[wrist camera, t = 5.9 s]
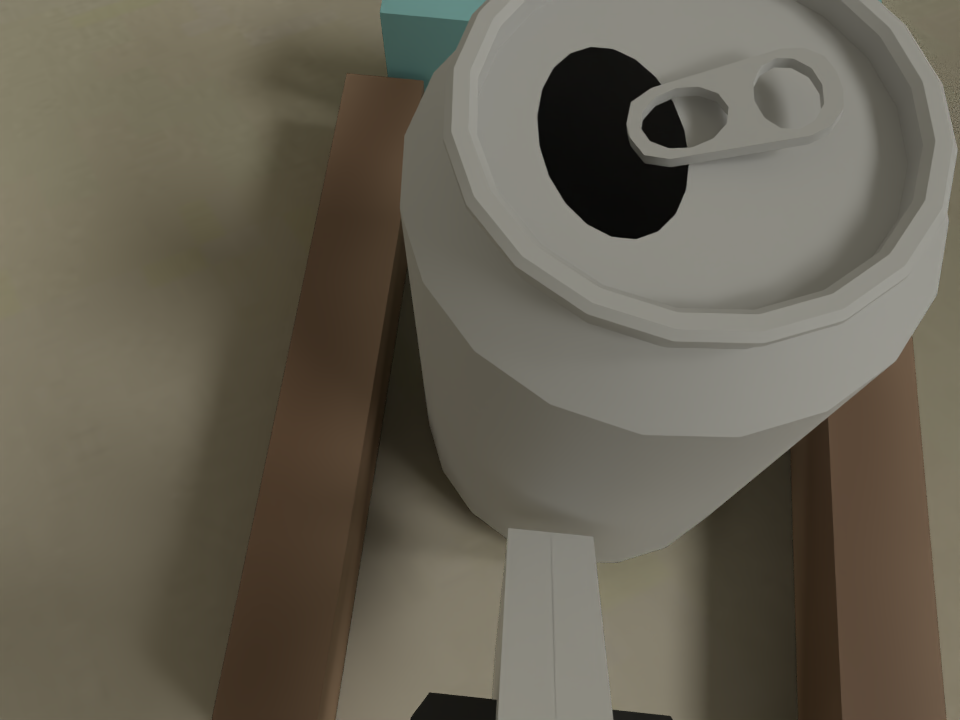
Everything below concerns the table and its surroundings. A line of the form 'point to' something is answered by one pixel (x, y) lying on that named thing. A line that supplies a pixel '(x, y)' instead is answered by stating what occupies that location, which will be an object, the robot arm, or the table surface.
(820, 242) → the can
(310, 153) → the table surface
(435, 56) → the bar
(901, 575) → the chute
